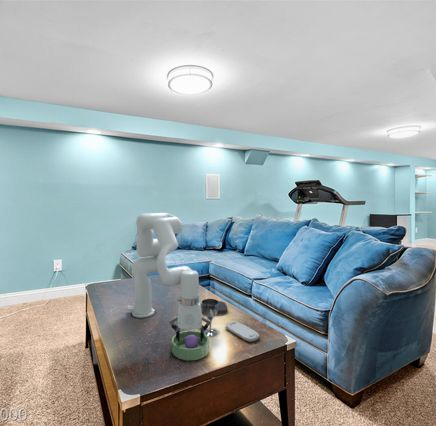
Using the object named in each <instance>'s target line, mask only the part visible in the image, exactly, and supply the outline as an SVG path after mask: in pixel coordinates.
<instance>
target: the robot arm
mask: <svg viewBox="0 0 436 426" xmlns="http://www.w3.org/2000/svg"><path fill="white" fill-rule="evenodd" d="M135 222H136V223H135V224H136V230H137V239H136V255H137V256H138V258H135V259H134V260H133V261H132V264H131V269H132V273H133V284H134V285H133V288H134V289H133V290H134V293H133V294H134V304H133V305H127V307H126V308H127V310H128V311H131V314H132V315H131V316H133V317H134V318H138V319H140V318H143V319H144V318H149V317H151V316H153V315H155V313H156V310H155V309H154V308H153V299H152V298H153V295H152V293H153V292H152V291H153V289H152V280H151V279H150V277H149V276H148V275H151V274H156V273H158V275H159V279H160V281H161V284H163V286H165V287H173V286H179V285H180V296H178V297H176V300H177V302H179V304H178V308H177V316H175V317H173V318H171V319H169V322H168V323H169V324H170V326H171V329H173V330H174V333H175V334H176V338H178V341H179V340H180V332H181V330H200V331H199V332H200V333H201V342H202V339H204V332H205V330H206V329H209V324H210V320H209V319H207V317H206V316H203V313H202V310H201V302H200V301H199V300H200V297H199V296H200V294H199V293H200V291H199V290H200V287H199V284H200V283H199V282H200V281H199V280H200V279H199V275H200V274H199V272H198V271H197V270H195V269H194V270H193V269H192V268H191V267H190V266H187V265H182V266H181V265H180V266H175V267H174V266H173V267H168V265H167V261H166V257H167V256H168V255H170V254H171V253H174V251H175V250H176V249H177V248H179V243H178V240H177V237H176V234H178V235H179V234H180V233H181V232H182V231H183V222H182V220H181V219H180V218H179V217H178V216H176V215H173V214H171V213H169V212H145V213H140V214H138V216H137V217H136V221H135ZM154 233H155V235H154ZM154 236H155V237H156V238H154ZM175 322H177V324H175ZM203 322H204V323H205V324H203Z"/></svg>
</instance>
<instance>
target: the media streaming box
mask: <svg viewBox="0 0 436 426" xmlns="http://www.w3.org/2000/svg"><path fill="white" fill-rule="evenodd" d="M217 301H218V312H217V314H216V315H225V314H227V313H228V305H227V304H226V302H225V301H221V300H217ZM200 305H201V311H202V314H203V310H202V302H200Z"/></svg>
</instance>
